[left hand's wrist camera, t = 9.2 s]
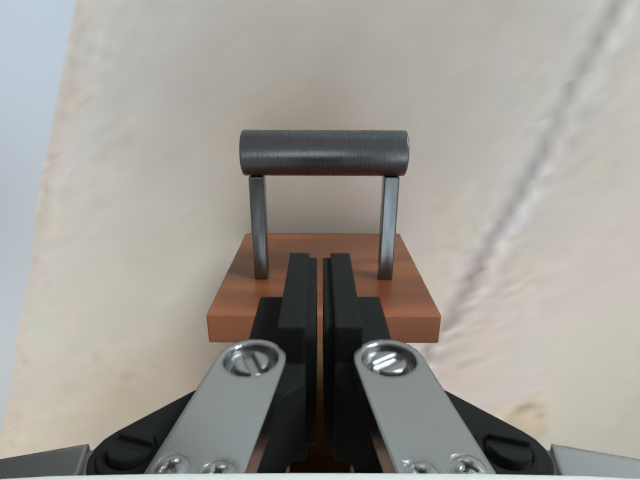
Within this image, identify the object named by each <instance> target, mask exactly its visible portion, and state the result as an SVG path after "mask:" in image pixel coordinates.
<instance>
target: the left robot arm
mask: <svg viewBox="0 0 640 480" xmlns="http://www.w3.org/2000/svg"><path fill="white" fill-rule="evenodd" d="M316 414H317V258H310V254H309V253H290V258H289V263H288V269H287V275H286V281H285V286H284V292H283V297H261V298H260V301H259V304H258V308H257V311H256V315H255V319H254V322H253V326H252V329H251V333H250V336H249V340H245V341H240V342H237V343H235V344H232V345H230V346H228V347H227V348H225V349H224V350H223V351H222V352H221V353H220V354H219V355H218V356H217V358H216V359H215V361H214V363H213V364H212V366H211V367H210V369H209V371H208V372H207V374H206V375H205V377H204V379H203V380H202V382H201V383H200V385H199V386H198V388H197V390H195V391H193V392H191V393H189V394H187V395H185V396H183V397H182V398H180V399H178V400H176V401H174V402H172V403H170V404H168V405H166V406H165V407H163V408H161V409H159V410H157V411H155V412H153V413H151V414H149V415H148V416H146V417H144V418H142V419H140V420H138V421H136V422H134V423H132V424H131V425H129V426H127V427H125V428H123V429H121V430H119V431H117V432H116V433H114V434H112V435H111V436H109V437H108V438H106V439H105V440H104V441H103V442H102V443H101V444H99V445H98V446H97V447H96V448H95V449H94V450H93V451H90V448H89V444H85V445H80V446H74V447H68V448H63V449H57V450H51V451H45V452H40V453H34V454H28V455H23V456H17V457H11V458H5V459H0V480H640V459H635V458H629V457H623V456H617V455H612V454H606V453H600V452H595V451H589V450H583V449H577V448H572V447H566V446H560V445H555V444H551V448H550V451H547V450H546V449H545V448H544V447H543V446H542V445H541V444H539V443H538V442H537V441H536V440H535V439H534V438H532V437H531V436H529V435H528V434H526V433H524V432H523V431H521V430H519V429H517V428H515V427H513V426H511V425H509V424H508V423H506V422H504V421H502V420H500V419H498V418H496V417H494V416H492V415H491V414H489V413H487V412H485V411H483V410H481V409H479V408H477V407H475V406H474V405H472V404H470V403H468V402H466V401H464V400H462V399H460V398H458V397H457V396H455V395H453V394H451V393H449V392H447V391H445V390H443V388H442V386H441V385H440V383H439V382H438V380H437V379H436V377H435V375H434V374H433V372H432V371H431V369H430V367H429V366H428V364H427V363H426V361H425V359H424V358H423V356H422V355H421V354H420V353H419V352H418V351H417V350H416V349H415V348H413V347H412V346H410V345H408V344H405V343H403V342H400V341H395V340H391V336H390V333H389V329H388V326H387V322H386V319H385V315H384V311H383V308H382V304H381V301H380V298H379V297H357V292H356V286H355V281H354V275H353V269H352V263H351V258H350V253H331V254H330V258H323V414H324V445H333V460H334V461H346V462H347V463H349V464H350V473H290V464H291V463H293V462H294V461H306V460H307V445H316Z"/></svg>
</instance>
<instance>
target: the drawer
mask: <svg viewBox="0 0 640 480" xmlns="http://www.w3.org/2000/svg"><path fill="white" fill-rule="evenodd" d="M239 154H240V165H241V170H242V173H243V174H244V175H250V176H249V191H250V209H251V226H252V233H247V234H246V235H245V237H244V239H243V241H242V243H241V245H240V247H239V249H238V251H237V253H236V256H235V258H234V260H233V262H232V264H231V266H230V268H229V270H228V272H227V274H226V276H225V278H224V280H223V282H222V284H221V287H220V289H219V291H218V293H217V295H216V297H215V299H214V301H213V303H212V305H211V307H210V309H209V311H208V313H207V324H208V334H209V341H210V342H240V341H245V340H249V336H250V333H251V329H252V326H253V322H254V319H255V315H256V311H257V308H258V304H259V301H260V298H261V297H283V292H284V286H285V281H286V275H287V269H288V263H289V258H290V253H309V254H310V258H317V414H316V445H307V460H306V461H294V462H293V463H291V464H290V473H350V464H349V463H347V462H346V461H334V460H333V445H324V414H323V258H330V254H331V253H350V258H351V263H352V269H353V275H354V281H355V286H356V292H357V297H379V298H380V301H381V304H382V308H383V311H384V315H385V319H386V322H387V326H388V329H389V333H390V336H391V340H395V341H400V342H403V343H405V344H406V343H438V338H439V330H440V321H441V315H440V313H439V311H438V309H437V307H436V305H435V303H434V301H433V299H432V297H431V295H430V293H429V291H428V289H427V287H426V285H425V283H424V281H423V279H422V277H421V276H420V274H419V272H418V270H417V268H416V266H415V264H414V262H413V260H412V258H411V256H410V254H409V252H408V250H407V248H406V246H405V244H404V242H403V240H402V238H401V236H400V234H396V219H397V205H398V190H399V176H404V175H405V174H406V171H407V167H408V161H409V138H408V134H407V132H406V131H404V130H243V131H242V132H241V135H240V144H239ZM265 175H276V176H383V178H382V196H381V214H380V232H379V234H268V230H267V206H266V183H265Z"/></svg>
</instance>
